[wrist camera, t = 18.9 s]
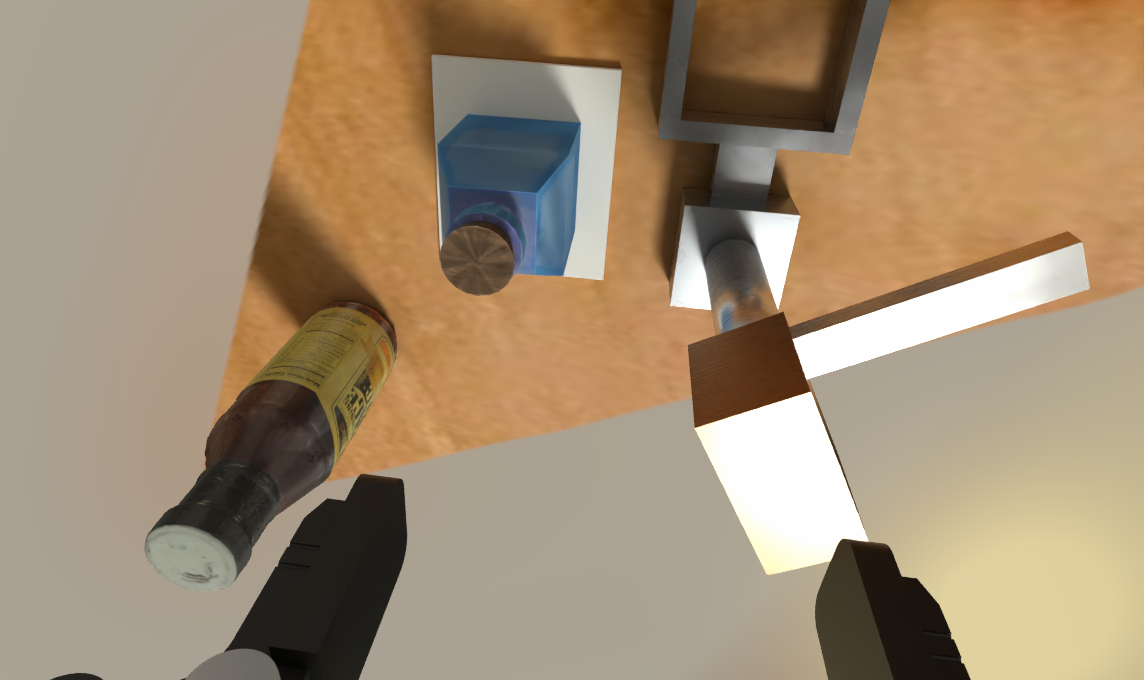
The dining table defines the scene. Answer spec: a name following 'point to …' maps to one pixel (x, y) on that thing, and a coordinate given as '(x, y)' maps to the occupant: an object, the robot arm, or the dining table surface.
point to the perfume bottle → (506, 199)
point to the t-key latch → (794, 354)
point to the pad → (544, 98)
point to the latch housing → (754, 155)
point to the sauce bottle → (275, 444)
